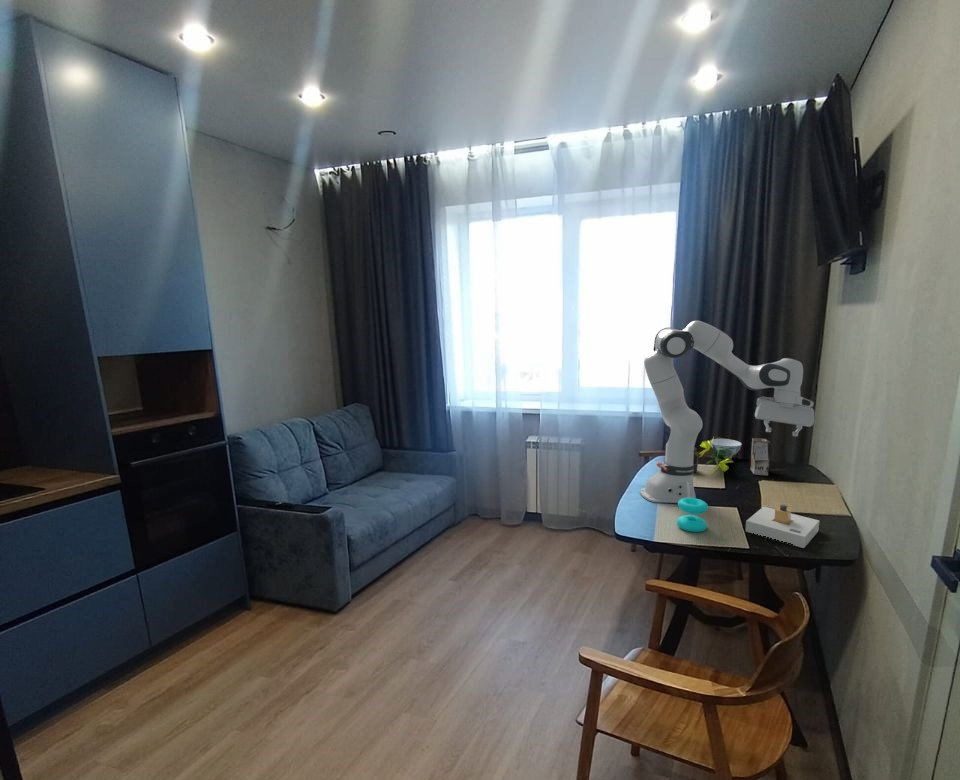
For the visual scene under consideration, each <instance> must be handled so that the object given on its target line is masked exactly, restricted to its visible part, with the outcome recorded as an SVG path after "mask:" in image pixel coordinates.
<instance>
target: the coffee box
mask: <svg viewBox="0 0 960 780" xmlns="http://www.w3.org/2000/svg"><path fill="white" fill-rule="evenodd" d="M751 439H752V441H751V454H750V468H749V469H750V471H751V472H752V474H753V475H757V476H767V477H768V476H769V472H770V471H769V469H770V468H769V467H770V457H771V446H772V445H771V444H772V443H771V441H770V440H768V438H764V437H763V438H762V437H760V438H759V437H758V438H757V437H752V438H751Z"/></svg>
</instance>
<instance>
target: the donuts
mask: <svg viewBox="0 0 960 780" xmlns="http://www.w3.org/2000/svg"><path fill="white" fill-rule="evenodd" d="M677 506H678V508H679V509H680V510H681V511H682V512H685V513H688V514H686V515H681V516H679V517H678V518H677V520H676V523H677V526H678V527H679V528H680V529H681V530H684V531H686V532H689V533H690V532H691V533H701V532H704V531H705V530H706V529H707V527H708V524H707V522H706V520H705V519H703V518H702V517H701V516H698V515H702V514H705V513H706V512H707V511H708V510H709V505H708V503H707V502H706V501H705V500H702V499H699V498H697V497H696V498H683V499H681V500H679V502H678V503H677Z"/></svg>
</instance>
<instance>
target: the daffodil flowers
mask: <svg viewBox="0 0 960 780" xmlns="http://www.w3.org/2000/svg"><path fill="white" fill-rule="evenodd" d="M714 438H715V437H714V436H713V438H712V439H711V440H712V441H713V439H714ZM711 440H707V441H706V440H704V441H701V444H700V447H701V448H705V449H703V450H702V451H700V452H699V453H698V455H700V456H699V458H701V457H703V455H706V456H710V458H711V460H708V461H707V462H706V463H705V464H704V466H705V467H706V466H708V465H710V464H712V463H716V464H715V465H716V466H715V467H714V468H713V469H712V471H711V474H713V472H715V471H716V470H718V468H720V469H721V471H723V473H725V472H726V471H728V470H729V469H730V468H729V466H728V465H727V464H728V463H734V461H733V460H732V458H728V457H729V456H730V455H729V451H727V450H728V449H729V448H725V449H722V450H724V451H721V450H716V448H715V446H714V445H713V448H712V446H711V444H712V442H710V441H711ZM709 451H710V452H711V453H710V452H709ZM707 452H709V453H707ZM725 455H729V456H726V457H725ZM719 456H720V457H719ZM733 458H735V456H734V455H733Z"/></svg>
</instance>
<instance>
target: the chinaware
mask: <svg viewBox="0 0 960 780" xmlns="http://www.w3.org/2000/svg"><path fill="white" fill-rule="evenodd" d="M712 440H713V441H712ZM709 441H710V444H711V442H712V444H711V447H712V448H713V445H714V446H715V448H716V450H721V451H724V450H722V449H725V448H729V449H728V450H727V451H729V455H730V456H729V455H725V457H726V456H729V457H728V458H729V459H732V458H733V456H734V455H736V454H737V453H738V452H739V451H740V450H741V448H742V442H740V441H738V440H734V439H729V438H715V439H714V438H712V439H710V440H709ZM718 457H720V456H718ZM720 458H721V457H720Z"/></svg>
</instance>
